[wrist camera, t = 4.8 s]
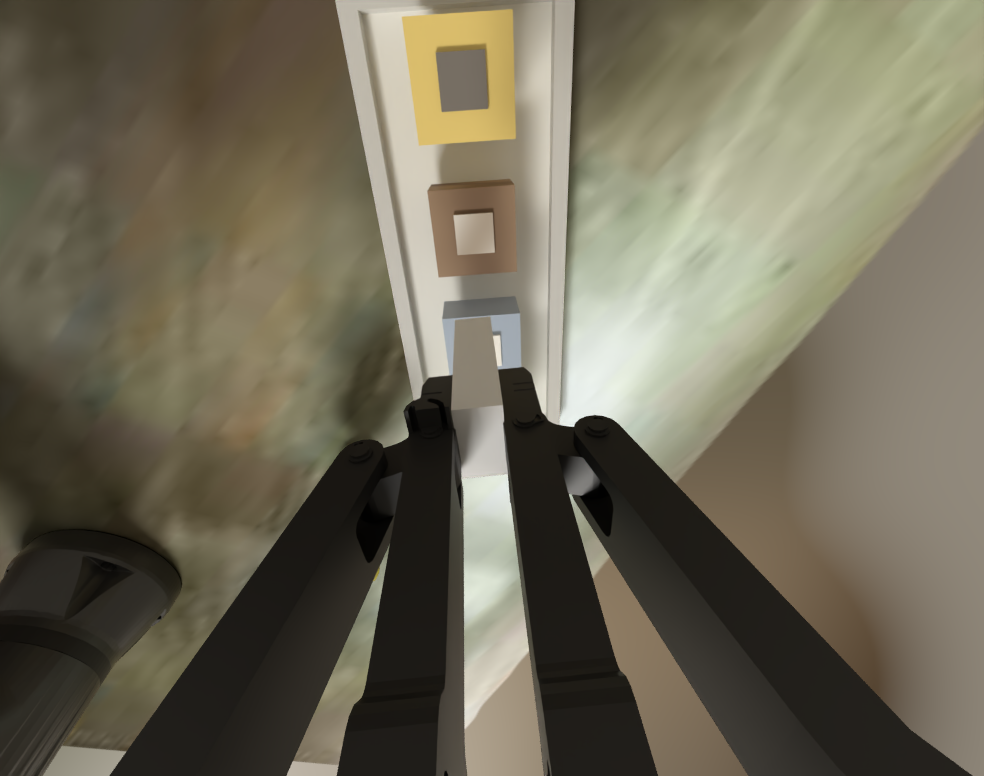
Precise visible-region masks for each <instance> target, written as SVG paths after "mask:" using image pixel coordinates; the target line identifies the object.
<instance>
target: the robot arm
mask: <svg viewBox="0 0 984 776" xmlns="http://www.w3.org/2000/svg"><path fill="white" fill-rule="evenodd" d="M404 415H405V419H406V423H407V428H408V432H409V436H408V438H407V439H405V440H404V441H402V442H400V443H397V444H395V445H392V446H389V447H386V448H383V445H382V444H381V443H379V442H378V441H375V440H361V441H357V442H354V443H352V444H350V445H348V446H347V447H345V448H344V449H343V450H342V451H341V452H340V453H339V455H338V456H337V457H336V459H335V460H334V462H333V463H332V464H331V466H330V467H329V469H328V470H327V471H326V473H325V474H324V476H323V477H322V478H321V480H320V481H319V483H318V484H317V485H316V487H315V488H314V490H313V491H312V492H311V494H310V495H309V497H308V498H307V499H306V501H305V502H304V504H303V505H302V506H301V508H300V509H299V511H298V512H297V513H296V515H295V516H294V518H293V519H292V520H291V522H290V523H289V525H288V526H287V527H286V529H285V530H284V532H283V533H282V534H281V536H280V537H279V539H278V540H277V541H276V543H275V544H274V546H273V547H272V548H271V550H270V551H269V553H268V554H267V555H266V557H265V558H264V560H263V561H262V562H261V564H260V565H259V567H258V568H257V570H256V571H255V572H254V574H253V575H252V577H251V578H250V579H249V581H248V582H247V584H246V585H245V586H244V588H243V589H242V591H241V592H240V593H239V595H238V596H237V598H236V599H235V600H234V602H233V603H232V605H231V606H230V607H229V609H228V610H227V612H226V613H225V614H224V616H223V617H222V619H221V620H220V621H219V623H218V624H217V626H216V627H215V628H214V630H213V631H212V633H211V634H210V635H209V637H208V638H207V640H206V641H205V642H204V644H203V645H202V647H201V648H200V649H199V651H198V652H197V654H196V655H195V656H194V658H193V659H192V661H191V662H190V663H189V665H188V666H187V668H186V669H185V670H184V672H183V673H182V675H181V676H180V677H179V679H178V680H177V682H176V683H175V685H174V686H173V687H172V689H171V690H170V692H169V693H168V694H167V696H166V697H165V699H164V700H163V701H162V703H161V704H160V706H159V707H158V708H157V710H156V711H155V713H154V714H153V715H152V717H151V718H150V720H149V721H148V722H147V724H146V725H145V727H144V728H143V729H142V731H141V732H140V734H139V735H138V736H137V738H136V739H135V741H134V742H133V743H132V745H131V746H130V748H129V749H128V750H127V752H126V753H125V755H124V756H123V757H122V759H121V760H120V762H119V763H118V764H117V766H116V768H115V769H114V770H113V771H112V773H111V774H110V776H286V775H287V773H288V770H289V768H290V766H291V764H292V762H293V759H294V757H295V755H296V753H297V750H298V748H299V746H300V744H301V741H302V739H303V737H304V735H305V732H306V730H307V728H308V726H309V723H310V721H311V719H312V717H313V714H314V712H315V710H316V708H317V706H318V703H319V701H320V699H321V697H322V694H323V692H324V690H325V688H326V685H327V683H328V681H329V679H330V676H331V674H332V672H333V670H334V667H335V665H336V663H337V661H338V658H339V656H340V654H341V652H342V649H343V647H344V645H345V643H346V640H347V638H348V636H349V634H350V631H351V629H352V627H353V625H354V622H355V620H356V618H357V616H358V613H359V611H360V609H361V607H362V605H363V602H364V600H365V598H366V596H367V593H368V591H369V589H370V587H371V584H372V582H373V580H374V578H375V575H376V573H377V571H378V569H379V566H380V564H381V562H382V560H383V557H384V555H385V553H386V551H387V548H388V546H389V544H390V547H389V553H388V559H387V564H386V570H385V576H384V582H383V588H382V594H381V599H380V605H379V611H378V617H377V623H376V629H375V634H374V640H373V646H372V652H371V658H370V663H369V669H368V675H367V681H366V686H365V690H364V693H363V696H362V698H361V699H360V700H359V701H358V702H357V703H356V704H354V706H353V708H352V711H351V713H350V715H349V719H348V723H347V727H346V731H345V735H344V741H343V746H342V751H341V756H340V761H339V766H338V772H337V776H467V769H466V759H465V744H464V539H463V486H462V480H461V473H462V479H465V478H475V477H485V476H494V475H504V474H508V481H509V493H510V503H511V507H512V515H513V523H514V531H515V539H516V547H517V555H518V563H519V571H520V579H521V588H522V596H523V604H524V612H525V620H526V628H527V636H528V644H529V652H530V660H531V668H532V675H533V676H532V677H533V685H534V692H535V701H536V709H537V717H538V725H539V733H540V742H541V752H542V760H543V761H542V762H543V771H544V776H658V774H657V771H656V767H655V764H654V761H653V757H652V754H651V750H650V747H649V744H648V741H647V737H646V734H645V731H644V727H643V724H642V720H641V717H640V714H639V710H638V707H637V704H636V700H635V697H634V694H633V692H632V689H631V686H630V684H629V682H628V679H627V677H626V676H625V675H624V674H623V673H622V672H621V671H620V669H619V667H618V665H617V662H616V659H615V656H614V652H613V649H612V645H611V642H610V638H609V635H608V631H607V627H606V624H605V621H604V617H603V613H602V610H601V606H600V603H599V599H598V596H597V592H596V589H595V585H594V582H593V578H592V575H591V571H590V567H589V564H588V560H587V557H586V553H585V550H584V546H583V543H582V539H581V536H580V532H579V529H578V525H577V522H576V518H575V515H574V511H573V507H572V504H571V500H570V497H569V494H572V496H573V498H574V501H575V502H576V504H577V505H578V507H579V508H580V510H581V512H582V513H583V515H584V516H585V518H586V520H587V521H588V523H589V524H590V526H591V527H592V529H593V531H594V532H595V534H596V535H597V537H598V539H599V540H600V542H601V543H602V545H603V546H604V548H605V550H606V551H607V553H608V554H609V556H610V558H611V559H612V561H613V562H614V564H615V565H616V567H617V569H618V570H619V572H620V573H621V575H622V576H623V578H624V580H625V581H626V583H627V584H628V586H629V588H630V589H631V591H632V592H633V594H634V595H635V597H636V599H637V600H638V602H639V603H640V605H641V606H642V608H643V610H644V611H645V613H646V614H647V616H648V618H649V619H650V621H651V622H652V624H653V626H654V627H655V628H656V630H657V632H658V633H659V635H660V637H661V638H662V640H663V641H664V643H665V644H666V646H667V648H668V649H669V651H670V652H671V654H672V656H673V657H674V659H675V660H676V662H677V663H678V665H679V666H680V668H681V670H682V671H683V673H684V674H685V676H686V678H687V679H688V681H689V682H690V684H691V686H692V687H693V689H694V690H695V692H696V694H697V695H698V697H699V698H700V700H701V701H702V703H703V704H704V706H705V708H706V709H707V711H708V712H709V714H710V716H711V717H712V719H713V720H714V722H715V724H716V725H717V726H718V728H719V730H720V731H721V733H722V734H723V736H724V738H725V739H726V741H727V743H728V744H729V745H730V747H731V749H732V750H733V752H734V754H735V755H736V757H737V758H738V760H739V762H740V763H741V764H742V766H743V768H744V769H745V771H746V773H747V774H748V775H749V776H972V775H971V774H969V773H968V772H967V771H965V770H964V769H962V768H961V767H959V766H958V765H957V764H956V763H954V762H953V761H952V760H950V759H949V758H948V757H946V756H945V755H944V754H942V753H941V752H940V751H938V750H937V749H936V748H934V747H933V746H931V745H930V744H929V743H927V742H926V741H925V740H923V739H922V738H921V737H919V736H918V735H917V734H915V733H914V732H913V731H911V730H910V729H909V728H908V727H907V726H906V725H905V724H904V723H903V722H902V721H901V719H900V718H899V717H898V716H897V715H896V714H895V713H894V712H893V711H892V710H891V709H890V708H889V707H888V706H887V705H886V704H885V703H884V702H883V701H882V700H881V699H880V697H879V696H878V695H877V694H876V693H875V692H874V691H873V690H872V689H871V688H870V687H869V686H868V685H867V684H866V683H865V682H864V681H863V680H862V679H861V678H860V677H859V675H857V673H856V672H854V670H853V669H852V668H851V667H850V666H849V665H848V664H847V663H846V662H845V661H844V660H843V659H842V658H841V657H840V656H839V655H838V653H837V652H836V651H835V650H834V649H833V648H832V647H831V646H830V645H829V644H828V643H827V642H826V641H825V640H824V639H823V638H822V637H821V636H820V635H819V634H818V633H817V631H816V630H815V629H814V628H813V627H812V626H811V625H810V624H809V623H808V622H807V621H806V620H805V619H804V618H803V617H802V616H801V615H800V614H799V613H798V612H797V611H796V610H795V608H794V607H793V606H792V605H791V604H790V603H789V602H788V601H787V600H786V599H785V598H784V597H783V596H782V595H781V594H780V593H779V592H778V591H777V590H776V589H775V588H774V586H773V585H772V584H771V583H769V581H768V580H767V579H766V578H765V577H764V576H763V575H762V574H761V573H760V572H759V571H758V570H757V569H756V568H755V567H754V566H753V565H752V563H751V562H750V561H749V560H748V559H747V558H746V557H745V556H744V555H743V554H742V553H741V552H740V551H739V550H738V549H737V548H736V547H735V546H734V545H733V544H732V542H730V540H729V539H728V538H727V537H726V536H725V535H724V534H723V533H722V532H721V531H720V530H719V529H718V528H717V527H716V526H715V525H714V524H713V523H712V522H711V520H710V519H709V518H708V517H707V516H706V515H705V514H704V513H703V512H702V511H701V510H700V509H699V508H698V507H697V506H696V505H695V504H694V503H693V502H692V501H691V500H690V499H689V497H688V496H686V494H685V493H684V492H683V491H682V490H681V489H680V488H679V487H678V486H677V485H676V484H675V483H674V482H673V481H672V480H671V479H670V478H669V476H668V475H667V474H666V473H665V472H664V471H663V470H662V469H661V468H660V467H659V466H658V465H657V464H656V463H655V462H654V461H653V460H652V459H651V458H650V457H649V456H648V454H647V453H646V452H645V451H644V450H643V449H642V448H641V447H640V446H639V445H638V444H637V443H636V442H635V441H634V440H633V439H632V438H631V437H630V436H629V435H628V434H627V432H626V431H625V430H624V429H623V428H622V427H621V426H620V425H619V424H618V423H617V422H615V421H614V420H612V419H610V418H607V417H604V416H597V415H593V416H586V417H584V418H581V419H579V420H578V421H577V422H576V423H575V426H574V427H568V426H561V425H557V424H554V423H552V422H550V421H548V419H547V418H546V416H545V415H544V414H543V413H542V411H541V407H540V404H539V400H538V396H537V393H536V390H535V385H534V383H533V378H532V375H531V373H530V372H529V371H528V370H527V369H526V368H524V367H518V368H508V369H498V367H497V360H496V353H495V346H494V339H493V332H492V325H491V318H490V316H489V317H479V318H469V319H459V320H455V330H454V353H453V375H448V376H438V377H429V378H428V379H427V380H426V382H425V383H424V384H423V385H422V391H421V397H420V398H419V399H417V400H414V401H412V402H411V403H410V404H408V405H407V406H406V408H405V410H404ZM180 590H181V581H180V578H179V576H178V574H177V572H176V571H175V569H174V568H173V567H172V566H171V565H170V564H169V563H168V562H167V561H166V560H165V559H163V558H162V557H161V556H159V555H158V554H156V553H155V552H153V551H151V550H150V549H148V548H146V547H144V546H142V545H140V544H138V543H135V542H133V541H130V540H127V539H124V538H121V537H118V536H114V535H110V534H106V533H101V532H94V531H85V530H64V531H56V532H51V533H47V534H44V535H42V536H39V537H37V538H36V539H34V540H33V541H31V542H30V543H29V544H28V545H27V546H26V547H25V548H24V549H23V550H22V551H21V552H20V553H19V554H18V555H17V556H16V557H15V558H14V559H13V560H12V561H11V562H10V564H9V565H8V567H7V569H6V572H5V574H4V578H3V580H2V581H1V583H0V776H43V774H44V773H45V771H46V770H47V768H48V766H49V765H50V763H51V762H52V760H53V759H54V757H55V756H56V754H57V752H58V751H59V749H60V748H61V746H62V745H63V743H64V742H65V740H66V738H67V737H68V735H69V734H70V732H71V731H72V729H73V728H74V726H75V725H76V723H77V721H78V720H79V718H80V717H81V715H82V714H83V712H84V711H85V709H86V707H87V706H88V704H89V703H90V701H91V700H92V698H93V697H94V695H95V693H96V692H97V690H98V689H99V687H100V685H101V684H102V682H103V681H104V679H105V678H106V676H107V675H108V673H109V672H110V670H111V669H112V667H113V666H114V665H115V663H116V662H117V661H118V660H119V659H120V658H121V657H122V656H123V655H124V654H125V653H126V652H127V651H128V650H129V649H131V648H132V647H133V646H134V645H135V644H136V643H137V642H138V641H139V640H140V638H141V637H142V636H143V635H144V634H145V633H146V632H147V631H148V630H149V628H150V627H151V626H153V625H155V624H156V623H158V622H159V621H160V620H161V619H162V618H163V617H164V616H165V615H166V614H167V613H168V611H169V610H170V608H171V607H172V605H173V603H174V602H175V600H176V598H177V597H178V595H179V593H180Z"/></svg>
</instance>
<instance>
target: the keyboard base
mask: <svg viewBox="0 0 984 776" xmlns="http://www.w3.org/2000/svg"><path fill="white" fill-rule="evenodd" d="M335 1H336V6H337V11H338V16H339V22H340V27H341V32H342V37H343V42H344V47H345V52H346V57H347V62H348V67H349V73H350V78H351V83H352V88H353V93H354V98H355V103H356V108H357V113H358V119H359V124H360V129H361V134H362V139H363V144H364V149H365V154H366V159H367V164H368V170H369V175H370V180H371V185H372V190H373V195H374V200H375V205H376V210H377V215H378V221H379V226H380V231H381V236H382V241H383V246H384V251H385V256H386V261H387V267H388V272H389V277H390V282H391V287H392V292H393V297H394V302H395V307H396V312H397V318H398V323H399V328H400V333H401V338H402V343H403V348H404V353H405V358H406V363H407V369H408V374H409V379H410V384H411V389H412V394H413V399H414V400H417V399H419V398H420V397H421V391H422V385H423V384H424V383H425V382H426V380H427V379H428V378H429V377H438V376H448V375H449V367H448V360H447V352H446V345H445V337H444V330H443V322H442V316H443V308H444V301H458V300H471V299H484V298H498V297H511V296H515V297H516V301H517V304H518V308H519V311H520V332H521V367H524V368H526V369H527V370H528V371H529V372H530V373H531V375H532V378H533V383H534V385H535V390H536V393H537V396H538V400H539V404H540V407H541V411H542V413H543V414H544V415H545V416H546V418H547V419H548V421H550V422H552V423H554V424H557V425H559V419H560V392H561V364H562V337H563V310H564V282H565V255H566V228H567V200H568V173H569V146H570V118H571V91H572V64H573V36H574V9H575V0H335ZM507 9H513V39H514V81H515V123H516V139H506V140H491V141H477V142H463V143H449V144H435V145H421V146H419V143H418V135H417V128H416V120H415V113H414V105H413V98H412V90H411V83H410V75H409V68H408V61H407V53H406V46H405V38H404V31H403V23H402V17H403V16H418V15H433V14H448V13H462V12H477V11H492V10H507ZM500 179H510V180H511V181H512V182H513V183H514V185H515V214H516V252H517V272H506V273H493V274H479V275H466V276H453V277H438V269H437V261H436V254H435V246H434V239H433V231H432V223H431V216H430V208H429V200H428V193H427V191H428V189H429V187H430V186H431V184H445V183H459V182H473V181H487V180H500Z"/></svg>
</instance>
